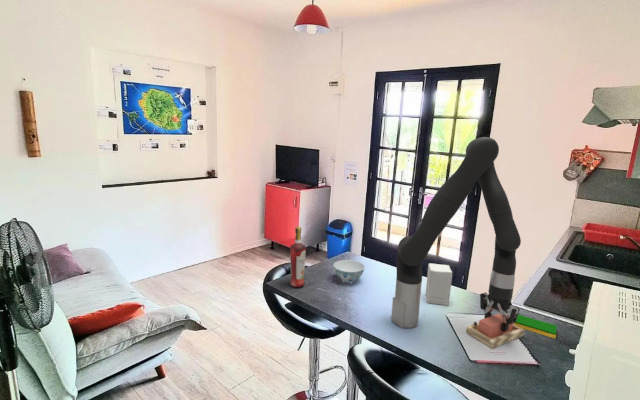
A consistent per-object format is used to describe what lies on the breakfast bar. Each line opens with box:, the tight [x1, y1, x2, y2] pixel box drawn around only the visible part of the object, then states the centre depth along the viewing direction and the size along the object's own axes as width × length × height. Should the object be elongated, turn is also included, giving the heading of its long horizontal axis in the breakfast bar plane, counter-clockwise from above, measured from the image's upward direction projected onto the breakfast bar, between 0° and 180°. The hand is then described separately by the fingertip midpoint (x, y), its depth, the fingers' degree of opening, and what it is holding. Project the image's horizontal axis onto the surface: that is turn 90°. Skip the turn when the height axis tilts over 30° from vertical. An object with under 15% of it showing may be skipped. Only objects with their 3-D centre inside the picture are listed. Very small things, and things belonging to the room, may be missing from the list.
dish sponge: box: [513, 313, 558, 339], centre depth 128 cm, size 7×14×2 cm, turn 53°
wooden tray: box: [465, 321, 525, 349], centre depth 123 cm, size 18×10×4 cm, turn 118°
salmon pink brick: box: [478, 312, 513, 339], centre depth 123 cm, size 13×4×6 cm, turn 118°
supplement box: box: [425, 263, 453, 306], centre depth 147 cm, size 9×9×15 cm
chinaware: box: [333, 259, 365, 284], centre depth 165 cm, size 15×15×8 cm
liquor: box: [289, 226, 307, 288], centre depth 156 cm, size 7×7×28 cm
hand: (495, 326), depth 123 cm, fingers open, 6 cm apart
